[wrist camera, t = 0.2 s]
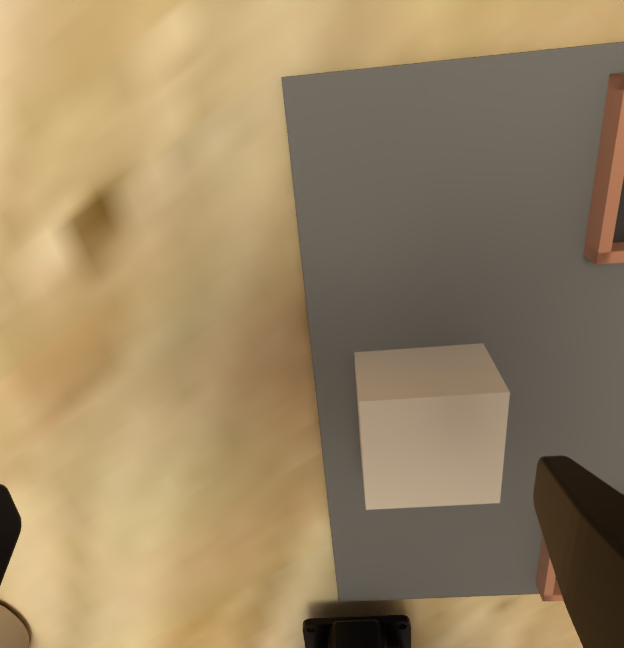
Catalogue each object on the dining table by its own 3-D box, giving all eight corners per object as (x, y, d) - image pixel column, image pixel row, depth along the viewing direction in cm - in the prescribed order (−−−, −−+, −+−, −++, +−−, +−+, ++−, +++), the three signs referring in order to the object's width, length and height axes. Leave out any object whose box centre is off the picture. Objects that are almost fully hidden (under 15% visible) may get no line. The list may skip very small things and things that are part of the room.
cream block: (476, 444, 27) (500, 503, 24) (360, 451, 28) (365, 509, 24) (483, 343, 24) (509, 392, 21) (354, 352, 25) (358, 401, 21)
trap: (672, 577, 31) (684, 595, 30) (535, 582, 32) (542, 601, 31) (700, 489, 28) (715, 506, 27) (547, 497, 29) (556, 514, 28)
